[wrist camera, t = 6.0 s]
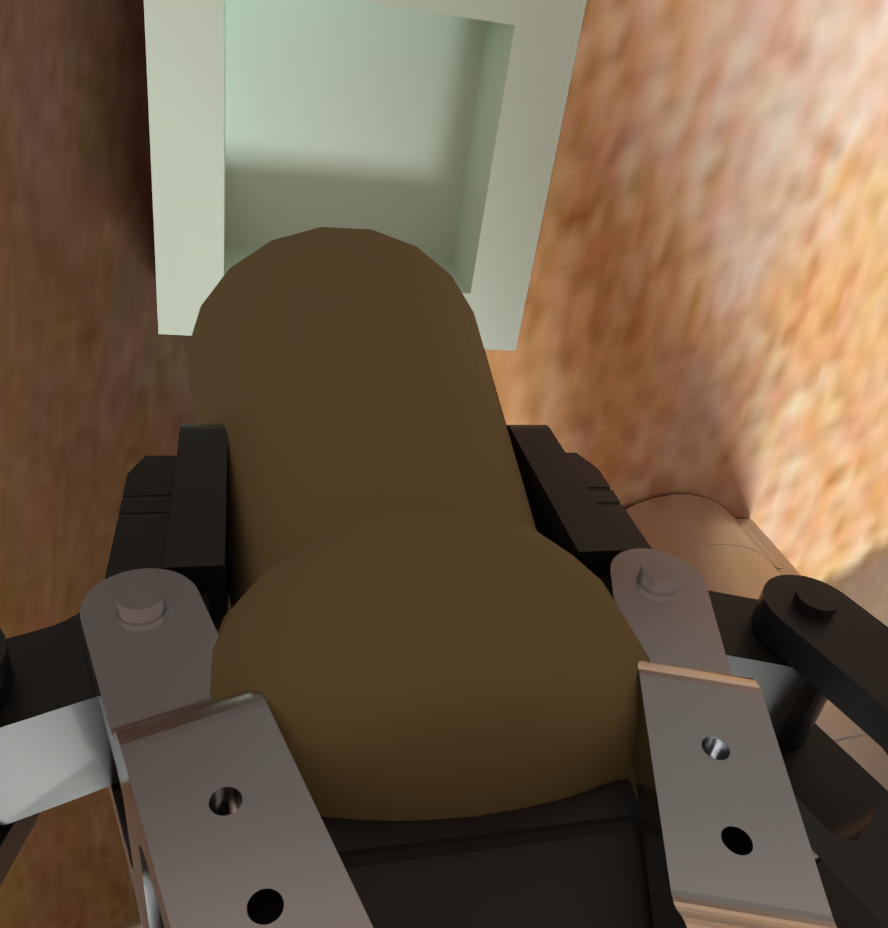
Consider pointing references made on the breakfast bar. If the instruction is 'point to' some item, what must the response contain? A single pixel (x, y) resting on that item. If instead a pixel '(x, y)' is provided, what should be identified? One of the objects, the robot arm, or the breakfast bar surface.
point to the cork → (396, 546)
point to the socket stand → (356, 135)
